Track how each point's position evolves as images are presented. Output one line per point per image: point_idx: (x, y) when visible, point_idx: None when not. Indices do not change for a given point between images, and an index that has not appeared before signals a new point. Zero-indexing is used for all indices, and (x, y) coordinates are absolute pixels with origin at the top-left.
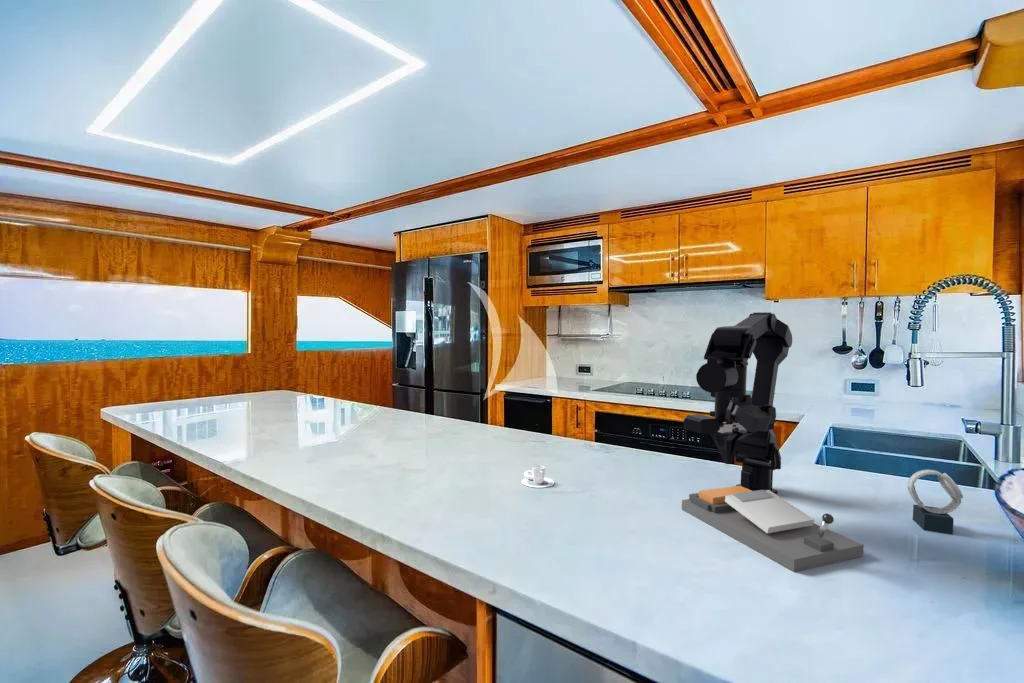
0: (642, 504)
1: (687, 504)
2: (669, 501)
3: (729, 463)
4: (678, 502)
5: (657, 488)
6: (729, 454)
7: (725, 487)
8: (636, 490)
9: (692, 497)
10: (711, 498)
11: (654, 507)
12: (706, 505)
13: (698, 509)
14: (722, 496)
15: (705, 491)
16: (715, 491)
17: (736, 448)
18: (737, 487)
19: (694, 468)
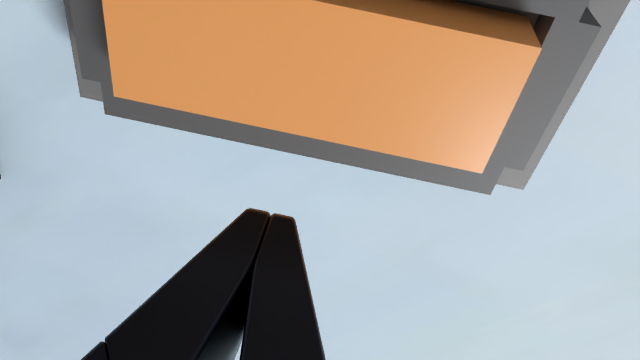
0: (608, 268)
1: (541, 146)
2: (461, 232)
3: (267, 216)
4: (435, 208)
5: (366, 319)
6: (278, 306)
7: (246, 123)
8: (466, 344)
9: (528, 159)
10: (531, 58)
11: (601, 228)
12: (590, 38)
13: (590, 64)
14: (444, 28)
15: (450, 147)
16: (386, 114)
17: (121, 353)
18: (162, 82)
19: (46, 344)
